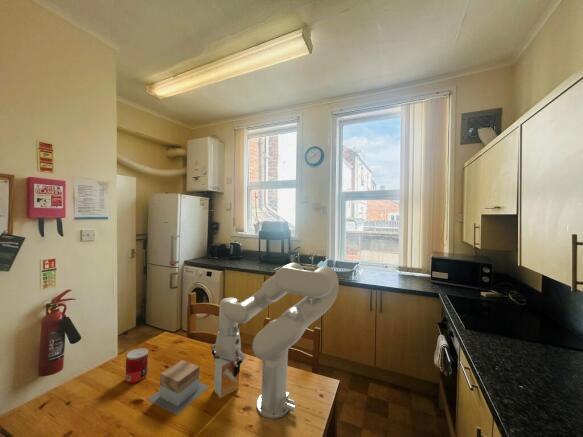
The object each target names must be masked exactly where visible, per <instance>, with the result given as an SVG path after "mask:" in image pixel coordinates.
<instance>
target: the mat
mask: <svg viewBox="0 0 583 437" xmlns="http://www.w3.org/2000/svg"><path fill="white" fill-rule="evenodd" d="M209 388H210V386H209V385H207V384H204V383H202V382H200V381H199V389H198V390H197V391H196V392H194V393H193V394H192V395H191V396H189V397H188V398H187V399H186V400H185V401H183V402H182V403H181V404H180V405H178V406H176V405H174V404H172V403H170V402H169V401H167V400H165V399H163V398H161V397H160V390H158V391H157V392H155V393H154V394H153V395H151V396H150V397H148V398H147V399H146V400H147V401H148V402H150V403H153V404H154V405H156V406H158V407H160V408H162V409H163V410H165V411H168V412H170V414H173V415H175V416H177V415H178V414H180V413H181V412H182V411H183V410H185V409H186V408H187V407H188V406H189V405H190V404H192V402H194V401H195V400H196V399H197V398H199V396H201V395H202V394H203V393H204V392H206V390H208V389H209Z"/></svg>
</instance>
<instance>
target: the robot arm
mask: <svg viewBox="0 0 583 437" xmlns="http://www.w3.org/2000/svg"><path fill="white" fill-rule="evenodd" d="M339 285H340V283H339V277H338V275H337V273H336V271H335V269H333V268H332V267H330V266H327V265H326V266H321V267H318V268H317V269H315V270H313V271H312V270H305V269H304V268H303V266H302V265H301V264H299V263H297V262H290V263H288V264H285V265H284V266H281V267H279V268H278V269H277V271H276V272H275V274H273V275H272V276H271V277H269V278H268V279H267V280H265V281H264V282H263V284H262V287H261V288H259V290H257V291H256V292H254V293H252V295H250V296H249V297H247V298H245V299H243V300H242V301H240V302H239V299H238V298H236V297H224V298H222V299H221V301H220V302H219V315H218V319H219V320H218V331H217V335H216V340H215V343H214V344H212V345H210V350H211V354H212V356H213V359H214V360H215V359H217V358H219V357H221V358H224V359H227V360H230V361H233V363H234V365H235V366H234V371H233V376H234V377H235V376H237V375H238V374H239V375H240V371H241V364H243V362H244V361H245V360H246V357H247V356H246V354H245V353H244V352H242V343H241V336H240V330H241V329H240V328H239V324H246V323H247V322H248V321H250V320H251V319H252V318H253V317H255V316H256V315H258V314H259V313H260V312H261V311H263V310H264V309H265V308H266V307H268V306H269V305H270V304H272V303H277V301H279V300H280V299H282V298H283V297H284V296H285V295H287V294H291V295H297V296H301V297H302V296H303V298H302V299H300V301H298V302H297V303H296V304H294V305H292V306H290V307H288V309H286V310H285V311H284V312H283V313H282V314H281V315H280V316H279V317H278V318H276V319H275V318H274V319H273V320H271V321H269V322H268V323H267V324H266V325H265V326H264V327H263V328H262V329H261V330H260V331H259V332H258V333H257V334H256V335H255V336H254V338H253V341H252V345H251V346H252V352H253V354H254V356H255V357H256V358H257V359H259V360H261V361H262V363H261V364H262V366H261V389H260V390H261V392H260V393H261V394H260V395H259V397H258V398H257V400H256V409H257V411H258V413H259V414H260V415H261V416H262V417H264V418H268V419H278V418H281V417H283V416H285V415H286V414H287V413H288V412H289V411H290V412H293V413H295V411H296V400H295V399H292V398H290V397H289V396H290V392H288V391H287V389H288V388H287V386H288V385H287V384H288V383H287V381H288V380H287V378H288V358H289V348H291V347H292V346H294V345H295V344H296V343H297V342H298V341H299V340H300V339H301V338H302V336H303V334H304V333H305V331H306V330H307V328H308V327H309V326H310V325H311V324H313V323H314V322H315V321H317V320H319V318H320V317H322V316H323V315H324V314H325V313H326V312H328V310H330V309H331V308H332V306H333V304H334V303H335V301H336V299H337V297H338V293H339V291H340V290H339V287H340V286H339ZM235 359H237V361H238V362H236V360H235ZM214 370H215V367H214Z"/></svg>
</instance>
